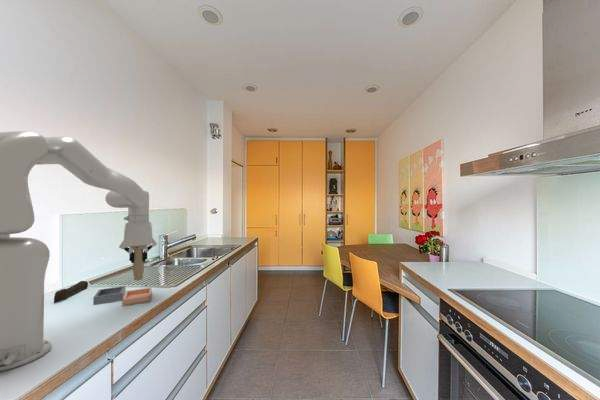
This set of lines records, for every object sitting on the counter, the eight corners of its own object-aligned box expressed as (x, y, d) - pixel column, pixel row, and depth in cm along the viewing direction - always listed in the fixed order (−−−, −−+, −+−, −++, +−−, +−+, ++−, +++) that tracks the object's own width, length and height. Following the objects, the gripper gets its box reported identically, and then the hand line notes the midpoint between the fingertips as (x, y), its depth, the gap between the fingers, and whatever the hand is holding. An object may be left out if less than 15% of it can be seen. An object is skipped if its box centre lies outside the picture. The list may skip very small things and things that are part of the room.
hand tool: (78, 289, 119) (78, 279, 119) (88, 288, 119) (88, 278, 119) (46, 305, 100) (46, 293, 100) (57, 304, 101) (57, 293, 101)
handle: (144, 280, 104) (145, 245, 104) (127, 281, 102) (127, 245, 103) (148, 277, 109) (149, 243, 109) (132, 278, 107) (132, 243, 107)
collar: (122, 300, 104) (122, 293, 104) (93, 304, 99) (93, 297, 99) (125, 292, 113) (125, 286, 113) (99, 296, 109) (99, 289, 109)
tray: (150, 301, 103) (150, 295, 103) (122, 306, 98) (122, 300, 98) (151, 292, 113) (151, 287, 113) (126, 296, 108) (126, 291, 108)
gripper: (113, 220, 98) (112, 266, 98) (160, 219, 107) (160, 261, 106) (116, 219, 105) (116, 262, 105) (161, 218, 113) (160, 258, 113)
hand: (138, 261), depth 106 cm, fingers closed on handle, 3 cm apart
